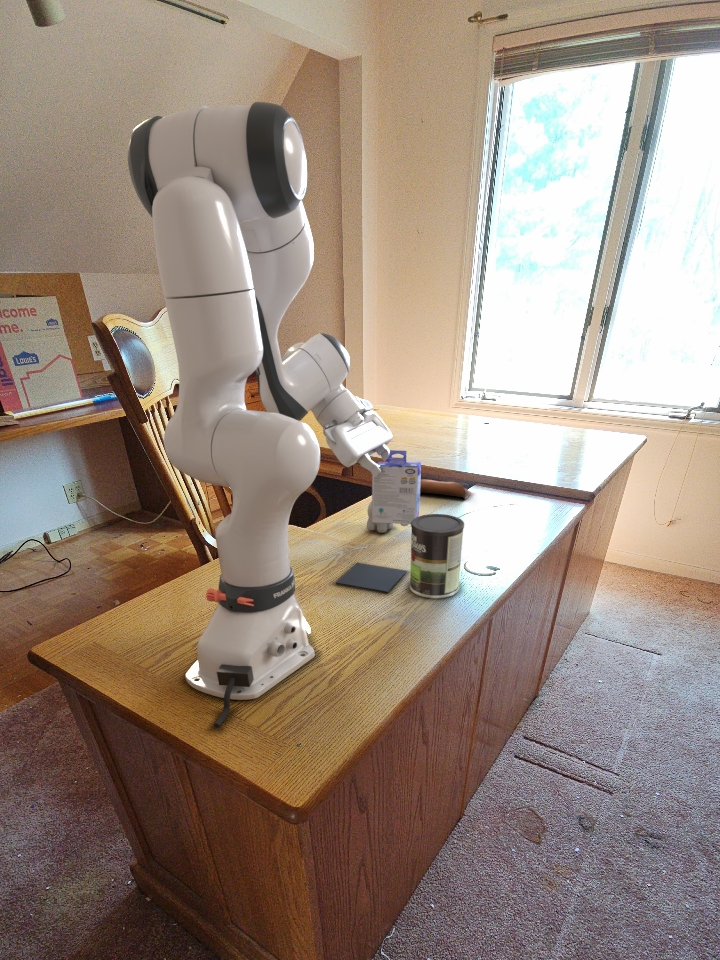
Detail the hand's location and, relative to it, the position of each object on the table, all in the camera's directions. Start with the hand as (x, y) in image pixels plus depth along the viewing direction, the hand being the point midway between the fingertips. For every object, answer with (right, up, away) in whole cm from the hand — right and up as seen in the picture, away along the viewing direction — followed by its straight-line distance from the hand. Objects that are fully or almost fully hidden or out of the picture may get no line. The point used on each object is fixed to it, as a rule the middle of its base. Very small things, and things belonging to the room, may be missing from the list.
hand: (386, 469), depth 117 cm
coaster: (-3, -22, +4) cm, 23 cm away
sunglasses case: (+19, +9, +53) cm, 57 cm away
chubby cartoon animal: (+2, -8, +28) cm, 29 cm away
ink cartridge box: (+2, -10, +5) cm, 11 cm away
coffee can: (+10, -25, -1) cm, 27 cm away
